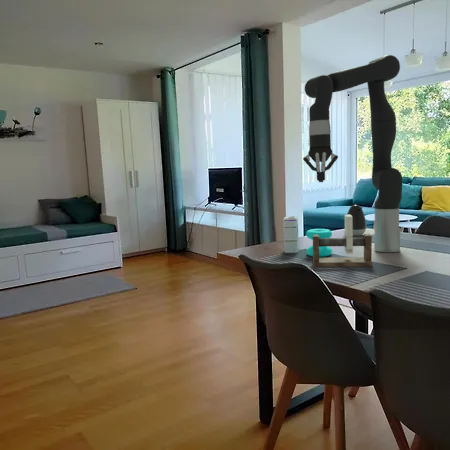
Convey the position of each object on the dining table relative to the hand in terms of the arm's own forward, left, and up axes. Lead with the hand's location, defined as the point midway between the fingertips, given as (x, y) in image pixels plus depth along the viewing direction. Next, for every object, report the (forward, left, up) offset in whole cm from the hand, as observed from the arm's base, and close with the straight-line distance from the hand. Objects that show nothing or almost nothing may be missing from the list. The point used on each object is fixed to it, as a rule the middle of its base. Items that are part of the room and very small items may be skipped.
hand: (320, 182), depth 158 cm
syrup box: (+11, -17, -30) cm, 36 cm away
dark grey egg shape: (-20, -55, -30) cm, 66 cm away
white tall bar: (-9, +6, -25) cm, 27 cm away
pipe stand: (-7, +6, -29) cm, 31 cm away
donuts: (0, -10, -30) cm, 31 cm away
